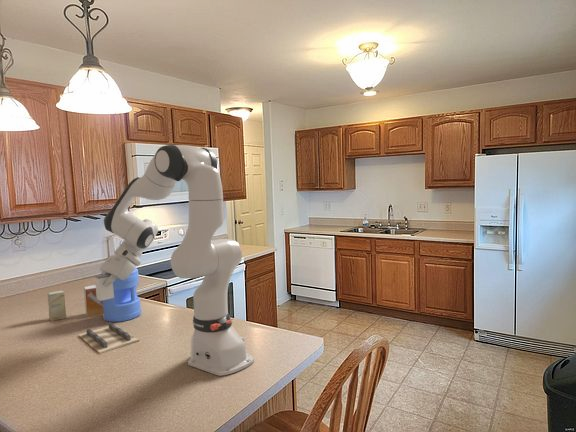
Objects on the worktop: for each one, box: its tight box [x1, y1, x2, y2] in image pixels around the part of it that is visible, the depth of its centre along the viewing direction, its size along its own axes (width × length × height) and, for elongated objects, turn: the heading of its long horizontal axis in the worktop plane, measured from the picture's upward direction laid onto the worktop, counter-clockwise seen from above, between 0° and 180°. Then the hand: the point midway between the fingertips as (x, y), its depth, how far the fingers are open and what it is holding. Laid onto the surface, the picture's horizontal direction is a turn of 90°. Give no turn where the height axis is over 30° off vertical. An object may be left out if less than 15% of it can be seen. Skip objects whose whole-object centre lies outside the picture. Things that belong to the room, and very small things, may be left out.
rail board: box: [78, 322, 140, 354], centre depth 148 cm, size 24×14×3 cm, turn 44°
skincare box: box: [47, 289, 67, 322], centre depth 173 cm, size 6×4×12 cm
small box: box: [83, 284, 104, 318], centre depth 178 cm, size 8×6×13 cm
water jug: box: [100, 267, 142, 323], centre depth 172 cm, size 16×16×28 cm
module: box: [94, 273, 114, 301], centre depth 146 cm, size 4×5×9 cm
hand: (102, 284), depth 146 cm, fingers closed on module, 4 cm apart
